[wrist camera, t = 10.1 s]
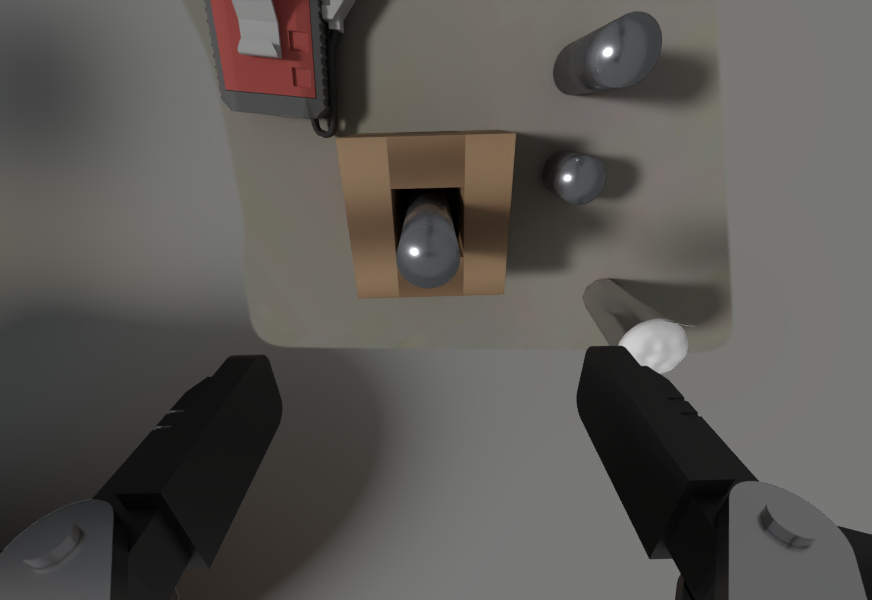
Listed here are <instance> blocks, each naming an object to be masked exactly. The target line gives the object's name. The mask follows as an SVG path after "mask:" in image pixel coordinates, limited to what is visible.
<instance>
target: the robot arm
mask: <svg viewBox="0 0 872 600" xmlns="http://www.w3.org/2000/svg"><path fill="white" fill-rule="evenodd" d="M577 408H578V412H579V416H580V418H581V420H582V422H583V424H584V426H585V428H586V430H587V432H588V434H589V437H590V438H591V441H592V442H593V445H594V447H595V449H596V451H597V453H598V455H599V457H600V459H601V461H602V463H603V465H604V467H605V469H606V471H607V473H608V475H609V477H610V479H611V481H612V483H613V485H614V488H615V490H616V492H617V494H618V496H619V498H620V500H621V502H622V504H623V506H624V508H625V510H626V512H627V514H628V516H629V518H630V520H631V522H632V524H633V526H634V528H635V530H636V532H637V535H638V536H639V539H640V541H641V543H642V545H643V547H644V549H645V551H646V553H647V555H648V557H649V559H670V558H671V559H673V560H674V562H675V564H676V566H677V567H678V569H679V571H680V573H681V574H680V576H679V578H678V581H677V586H676V595H675V600H872V535H871V534H867V533H863V532H859V531H855V530H851V529H847V528H843V527H839V526H836V525H835V524H834V523H833V522H832V521H831V520H830V519H829V518H828V517H827V516H826V515H825V514H824V513H822V512H821V511H820V510H819V509H817V508H816V507H814V506H813V505H812V504H810V503H809V502H807V501H806V500H804V499H803V498H801V497H799V496H797V495H795V494H794V493H791V492H789V491H787V490H785V489H783V488H780V487H777V486H775V485H772V484H768V483H763V482H759V481H758V480H757V479H756V477H755V476H754V475H753V474H752V473H751V472H750V471H749V470H748V469H747V467H746V466H745V465H744V464H743V463H742V462H741V461H740V460H739V458H738V457H737V456H736V455H735V454H734V453H733V452H732V451H731V449H730V448H729V447H728V446H727V445H726V444H725V443H724V442H723V440H722V439H721V438H720V437H719V436H718V435H717V434H716V433H715V431H714V430H713V429H712V428H711V427H710V426H709V425H708V424H707V423H706V421H705V420H704V419H703V418H702V417H701V416H700V417H699V416H698V414H697V413H698V412H697V411H696V410H695V409H694V408H693V407H692V406H691V405H690V403H689V402H687V401H684V397H683V396H682V394H681V393H680V392H679V391H678V390H677V389H676V388H675V387H674V385H673V384H672V383H671V382H670V381H669V380H668V379H666V378H665V377H663V376H662V375H660V374H659V373H657V372H656V371H654V370H653V369H651V368H650V367H648V366H641V365H640V364H639V363H638V362H637V361H636V359H635V358H634V357H633V356H632V355H631V353H630V352H629V351H628V350H627V349H626V348H625V347H624V346H591V347H589V348H588V349H587V351H586V354H585V359H584V363H583V368H582V372H581V377H580V381H579V386H578V390H577ZM281 417H282V400H281V397H280V393H279V390H278V387H277V384H276V381H275V377H274V374H273V371H272V368H271V365H270V362H269V359H268V358H267V357H266V356H265V355H233V356H230V357H229V358H227V359H226V360H225V362H224V363H223V364H222V365H221V367H220V368H219V369H218V370H217V371H216V373H215V374H214V375H213V376H212V377H207V378H205V379H204V380H203V381H201V382H200V383H198V384H197V385H195V386H194V387H192V388H191V389H190V390H188V391H187V392H186V393H185V394H184V395H183V396H182V397H181V398H180V399H179V400H178V402H177V403H176V404H175V405H174V406H173V407H172V408H171V410H170V413H169V414H166V415H165V416H164V418H163V419H162V420H161V421H160V422H159V423H158V424H157V426H156V430H152V431H151V432H150V433H149V435H148V436H147V437H146V438H145V439H144V440H143V441H142V443H141V444H140V445H139V446H138V447H137V448H136V449H135V451H134V452H133V453H132V454H131V455H130V456H129V458H128V459H127V460H126V461H125V462H124V463H123V464H122V465H121V467H120V468H119V469H118V470H117V471H116V472H115V474H114V475H113V476H112V477H111V478H110V479H109V480H108V481H107V482H106V484H105V485H104V486H103V487H102V488H101V489H100V490H99V492H98V493H97V494H96V495H95V496H94V497H93V498H92V499H90V500H84V501H79V502H76V503H73V504H70V505H67V506H65V507H62V508H60V509H58V510H56V511H54V512H52V513H50V514H49V515H47V516H45V517H43V518H42V519H40V520H39V521H37V522H36V523H34V524H33V525H31V526H30V527H29V528H27V529H26V530H25V531H24V532H22V533H21V534H20V535H19V536H17V537H16V538H15V539H14V540H13V541H12V542H11V543H10V544H9V545H8V546H7V547H6V548H5V549H3V550H0V600H179V598H178V593H177V591H176V589H175V587H176V585H177V583H178V581H179V579H180V577H181V575H182V574H183V572H184V570H189V569H190V570H191V569H210V567H211V565H212V562H213V560H214V558H215V556H216V554H217V552H218V550H219V548H220V546H221V544H222V542H223V540H224V538H225V535H226V534H227V532H228V529H229V528H230V525H231V523H232V521H233V519H234V517H235V515H236V513H237V511H238V509H239V507H240V505H241V503H242V500H243V499H244V497H245V495H246V493H247V490H248V488H249V486H250V484H251V482H252V480H253V478H254V476H255V474H256V472H257V470H258V468H259V466H260V464H261V462H262V460H263V457H264V455H265V453H266V451H267V449H268V447H269V445H270V443H271V441H272V439H273V437H274V435H275V433H276V431H277V429H278V427H279V424H280V421H281Z"/></svg>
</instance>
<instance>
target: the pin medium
mask: <svg viewBox="0 0 872 600" xmlns="http://www.w3.org/2000/svg"><path fill="white" fill-rule="evenodd" d="M661 47H662V33H661V29H660V26H659V24H658V22H657V21H656V20H655V19H654V18H653V17H652V16H651V15H650V14H647V13H645V12H631V13H628V14H626V15H624V16H622V17H620V18H618V19H616V20H614V21H612V22H610V23H608V24H607V25H605V26H603V27H601V28H599V29H597V30H595V31H593V32H591V33H590V34H588V35H586V36H584V37H582V38H580V39H578V40H576V41H574V42H572V43H571V44H569V45H567V46H566V47H565V48H564V49H563V50H562V51H561V52H560V54H559V55H558V57H557V59H556V61H555V64H554V69H553V77H554V81H555V84H556V86H557V87H558V89H559V90H560V91H561V92H563V93H564V94H567V95H578V94H585V93H591V92H597V91H604V90H610V89H616V88H623V87H628V86H632V85H634V84H636V83H638V82H640V81H641V80H643V79H644V78H645V77H646V76H647V75H648V74H649V73H650V72H651V70H652V69H653V67H654V66H655V64H656V62H657V60H658V58H659V55H660V52H661Z"/></svg>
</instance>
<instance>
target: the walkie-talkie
mask: <svg viewBox="0 0 872 600" xmlns="http://www.w3.org/2000/svg"><path fill="white" fill-rule="evenodd" d="M355 1H356V0H205V5H206V7H205V11H206V12H207V16H208V20H207V23H208V24H209V27H210V31H209V35H210V36H211V39H212V43H211V46H212V47H213V50H214V54H213V57H214V58H215V61H216V65H215V68H216V69H217V73H218V76H217V79H218V80H219V84H220V86H219V90H221V95H222V96H221V99H222V100H223V101H224V102H225V104H226V105H227V106H228V107H229V108H230V110H231V111H237V112H248V113H259V114H271V115H282V116H293V117H304V118H311V122H312V126H313V129H314V131H315V132H316V133H317V135H319V136H322V137H324V138H328V137H332V136H333V135H334V134H335V133H336V130H337V126H338V116H337V94H336V71H335V52H336V48H337V45H338V43H339V38H340V33H344V19H345V18H346V16H347V14H348V13H349V11H350V10H351V8H352V6H353V5H354V3H355ZM330 30H331V31H332V38H331V39H330V38H329V32H331V31H330ZM329 114H331V125H330V128H329V130H328V131H327V132H326V131H324V130H322V129H321V128H320V125H319V120H318V118H326V117H327V116H328V115H329Z"/></svg>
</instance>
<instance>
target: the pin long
mask: <svg viewBox="0 0 872 600" xmlns="http://www.w3.org/2000/svg"><path fill="white" fill-rule="evenodd" d="M396 262H397V267H398V269H399V272H400V273H401V275H402V276H403V277H404V279H406V280H407V281H408V282H409V283H411V284H412V285H414V286H417V287H420V288H428V289H430V288H437V287H440V286H442V285H444V284H446V283H448V282H449V281H450V280H451V279H452V278H453V277H454V276H455V274H456V273H457V271H458V268H459V265H460V252H459V247H458V243H457V238H456V234H455V230H454V225H453V221H452V216H451V212H450V207H449V203H448V198H447V195H446V193H445V192H444V191H443V189H442V188H416V189H415V190H414V191H413V192H412V194H411V196H410V200H409V204H408V208H407V213H406V217H405V221H404V225H403V229H402V233H401V237H400V241H399V246H398V250H397V255H396Z"/></svg>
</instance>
